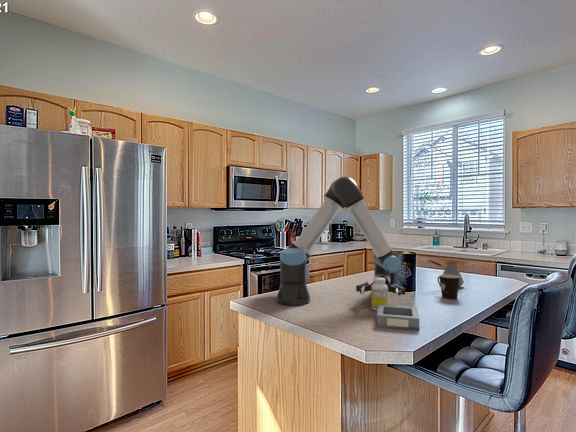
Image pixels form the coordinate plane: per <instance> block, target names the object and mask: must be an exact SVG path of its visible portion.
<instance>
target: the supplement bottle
mask: <svg viewBox="0 0 576 432" xmlns="http://www.w3.org/2000/svg"><path fill="white" fill-rule="evenodd" d="M373 281H374V284H373V285H372V286H371V291H370V292H371V309H372V310H374V311H376V312H377V311H378V306H379V305H389V292H388V286H387V285H386V284H385V278H381V277H376V278H373Z"/></svg>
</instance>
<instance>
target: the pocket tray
mask: <svg viewBox="0 0 576 432" xmlns="http://www.w3.org/2000/svg"><path fill="white" fill-rule="evenodd" d="M376 327H379V328H391V329H401V330H410V331H411V330H413V331H420V315H419V310H418V307H413V306H403V305H390V304H388V305H379V306H378V311H376Z"/></svg>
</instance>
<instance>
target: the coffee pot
mask: <svg viewBox="0 0 576 432" xmlns="http://www.w3.org/2000/svg"><path fill="white" fill-rule="evenodd" d="M431 263H432V264H434V265H436V266H439V267H442V268H443V270H444V271H443V272H442V275H456V276H459V277H460V279H459V287H458V288H460V287H462V286H463V284H464V282H465V281H464V279H463V276H462V273H461V272H460V270H459V268H458V264H459V262H458V261H445V262H444V263H445V265H446V266H445V265H443V264H440V263H438V262H437V261H434V260H431V259H429V260H428V261H427V264H428V265H429V264H431Z"/></svg>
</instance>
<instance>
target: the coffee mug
mask: <svg viewBox="0 0 576 432" xmlns="http://www.w3.org/2000/svg"><path fill="white" fill-rule="evenodd" d="M459 279H460V277H459V276H456V275H443V274H439V276H438V277H437V283H438V285H439V286H440V291H441V297H442V299H445V298H446V299H447V300H457V299H458V294H459V288H460V287H459Z"/></svg>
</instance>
